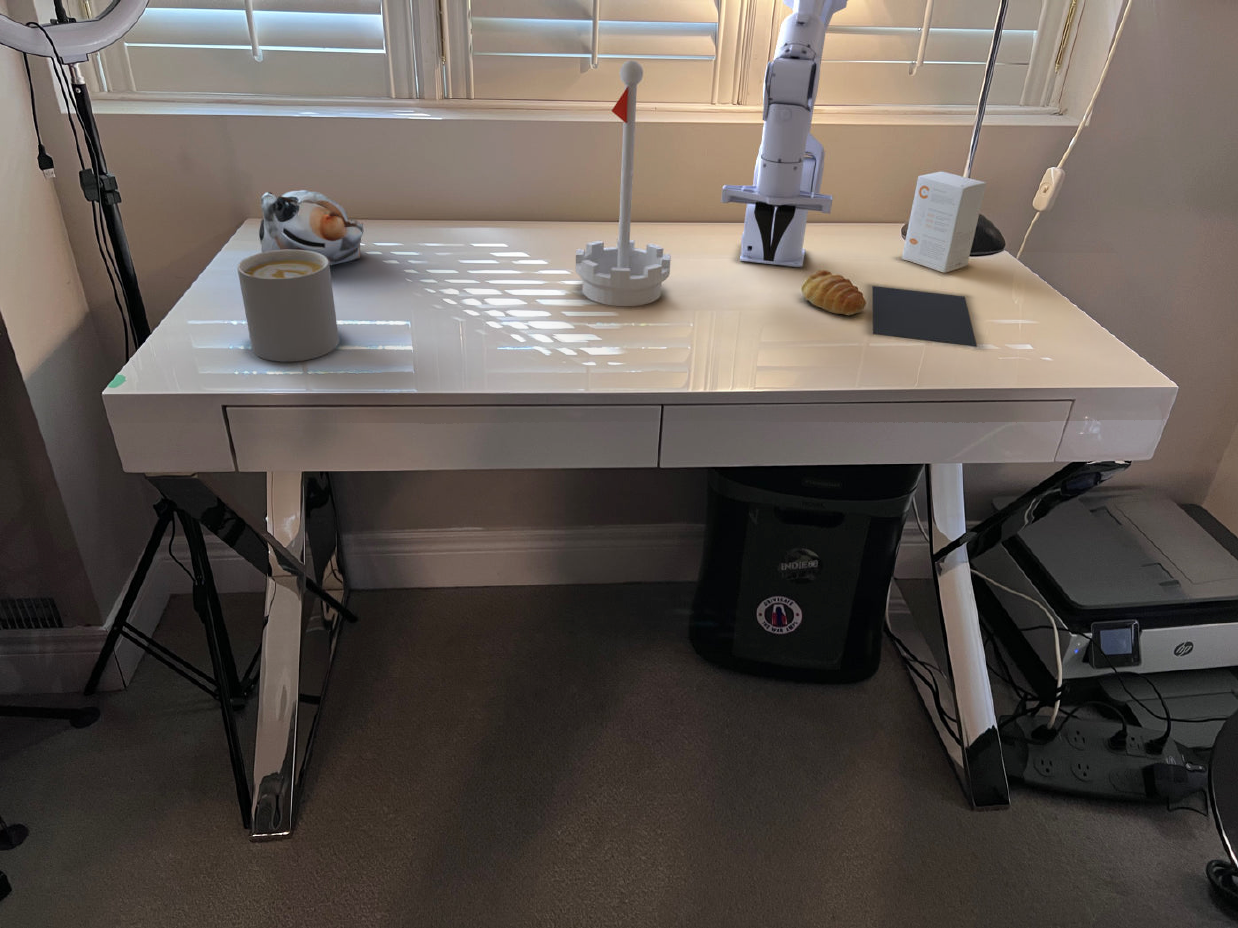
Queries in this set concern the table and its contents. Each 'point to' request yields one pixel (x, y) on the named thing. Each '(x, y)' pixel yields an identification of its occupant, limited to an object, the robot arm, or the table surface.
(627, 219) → the flag stand
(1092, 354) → the table surface
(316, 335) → the coffee mug
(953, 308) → the placemat
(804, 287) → the pastry
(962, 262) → the small box
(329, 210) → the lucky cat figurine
